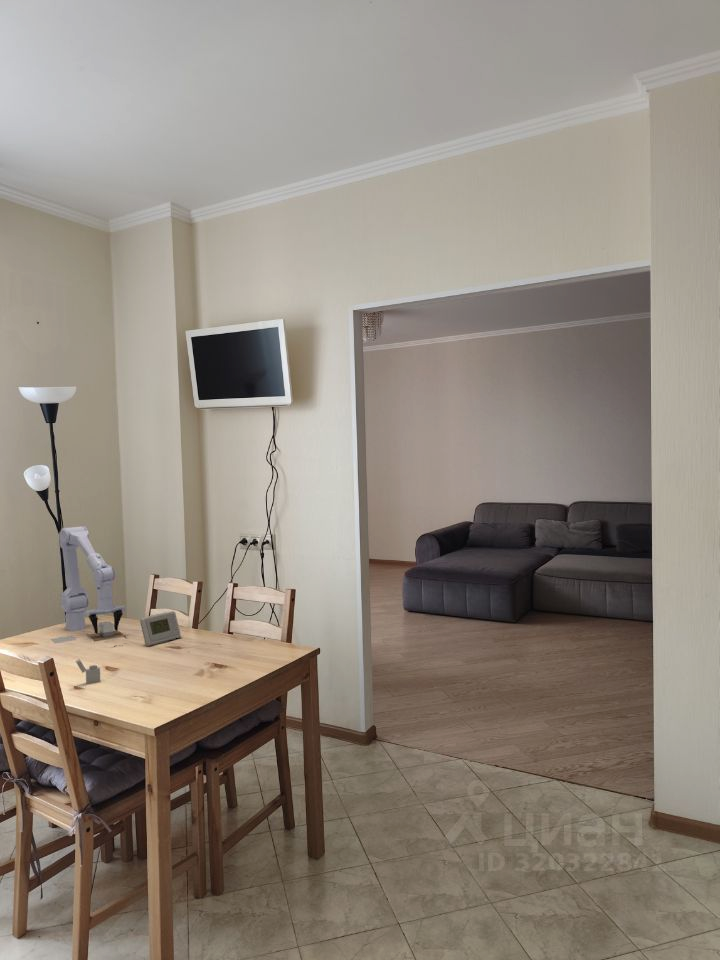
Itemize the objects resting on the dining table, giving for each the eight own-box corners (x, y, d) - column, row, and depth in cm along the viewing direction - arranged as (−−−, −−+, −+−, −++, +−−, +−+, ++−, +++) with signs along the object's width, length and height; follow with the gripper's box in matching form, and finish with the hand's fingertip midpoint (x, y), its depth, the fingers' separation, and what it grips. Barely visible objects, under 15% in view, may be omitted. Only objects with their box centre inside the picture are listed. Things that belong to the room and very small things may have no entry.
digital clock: (145, 647, 262) (144, 620, 261) (136, 643, 269) (135, 616, 268) (185, 639, 272) (184, 613, 272) (175, 635, 279) (174, 609, 279)
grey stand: (50, 642, 272) (50, 639, 271) (72, 639, 276) (72, 635, 276) (54, 647, 265) (54, 643, 265) (76, 643, 270) (76, 639, 269)
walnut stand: (87, 638, 276) (86, 635, 276) (117, 633, 283) (117, 630, 283) (94, 645, 267) (94, 641, 267) (126, 639, 274) (125, 636, 273)
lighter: (99, 679, 225) (98, 655, 225) (100, 681, 223) (99, 656, 223) (76, 684, 221) (75, 659, 221) (77, 685, 220) (76, 660, 219)
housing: (103, 638, 271) (103, 625, 271) (99, 635, 276) (99, 622, 276) (113, 636, 273) (113, 624, 273) (109, 633, 278) (109, 621, 278)
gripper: (88, 601, 267) (89, 636, 267) (126, 596, 275) (127, 630, 276) (84, 598, 273) (85, 632, 273) (121, 593, 281) (122, 626, 282)
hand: (106, 631), depth 275 cm, fingers open, 7 cm apart
